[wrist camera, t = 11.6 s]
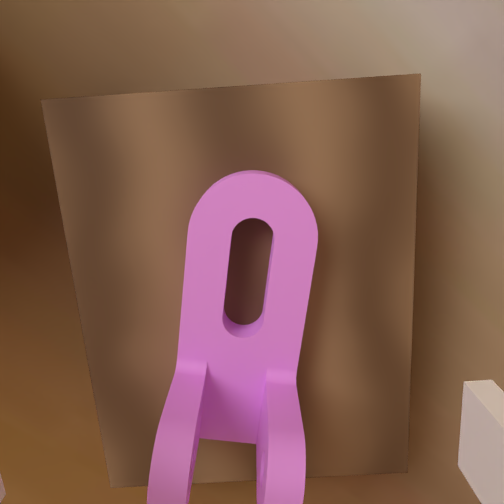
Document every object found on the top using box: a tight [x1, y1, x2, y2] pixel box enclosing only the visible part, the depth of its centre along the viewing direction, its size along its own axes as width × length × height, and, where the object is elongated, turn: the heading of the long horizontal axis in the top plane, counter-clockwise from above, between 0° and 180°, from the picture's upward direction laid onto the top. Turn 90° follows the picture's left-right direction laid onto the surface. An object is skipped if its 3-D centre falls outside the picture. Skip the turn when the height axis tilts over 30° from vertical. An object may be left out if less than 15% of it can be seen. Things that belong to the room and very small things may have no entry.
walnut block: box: [41, 74, 421, 488], centre depth 24 cm, size 16×20×5 cm
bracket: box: [147, 170, 318, 504], centre depth 18 cm, size 13×6×7 cm, turn 173°
